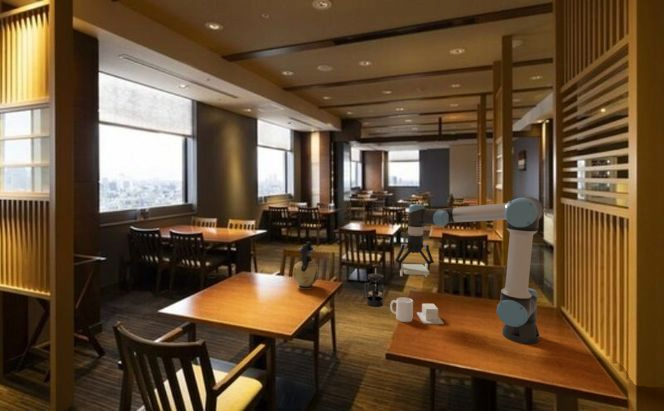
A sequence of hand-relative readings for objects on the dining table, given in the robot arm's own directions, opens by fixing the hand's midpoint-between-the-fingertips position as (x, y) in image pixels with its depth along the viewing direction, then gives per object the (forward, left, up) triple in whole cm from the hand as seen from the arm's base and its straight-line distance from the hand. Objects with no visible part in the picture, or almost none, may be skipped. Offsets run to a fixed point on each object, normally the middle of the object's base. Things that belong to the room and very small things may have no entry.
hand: (413, 276), depth 183 cm
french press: (+20, +17, -22) cm, 35 cm away
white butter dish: (-1, -9, -22) cm, 24 cm away
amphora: (+51, +58, -22) cm, 81 cm away
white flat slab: (0, 0, +3) cm, 3 cm away
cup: (-1, +6, -22) cm, 23 cm away
